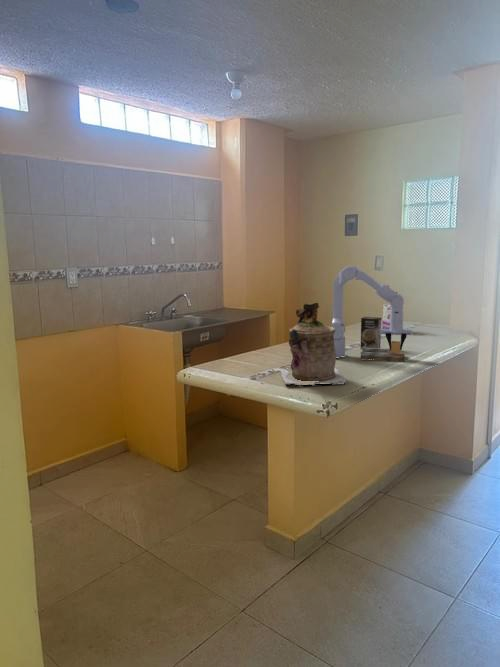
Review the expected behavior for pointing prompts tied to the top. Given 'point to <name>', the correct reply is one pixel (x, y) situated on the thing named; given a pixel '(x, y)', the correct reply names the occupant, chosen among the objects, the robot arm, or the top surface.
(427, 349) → the top surface
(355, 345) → the top surface
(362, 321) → the coffee box
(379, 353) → the trap channel
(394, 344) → the block
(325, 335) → the cookie jar
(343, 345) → the robot arm
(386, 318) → the candy bar box
